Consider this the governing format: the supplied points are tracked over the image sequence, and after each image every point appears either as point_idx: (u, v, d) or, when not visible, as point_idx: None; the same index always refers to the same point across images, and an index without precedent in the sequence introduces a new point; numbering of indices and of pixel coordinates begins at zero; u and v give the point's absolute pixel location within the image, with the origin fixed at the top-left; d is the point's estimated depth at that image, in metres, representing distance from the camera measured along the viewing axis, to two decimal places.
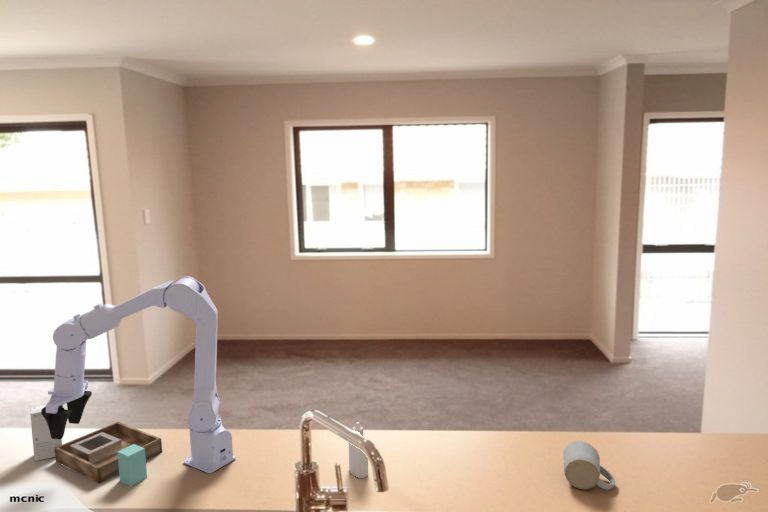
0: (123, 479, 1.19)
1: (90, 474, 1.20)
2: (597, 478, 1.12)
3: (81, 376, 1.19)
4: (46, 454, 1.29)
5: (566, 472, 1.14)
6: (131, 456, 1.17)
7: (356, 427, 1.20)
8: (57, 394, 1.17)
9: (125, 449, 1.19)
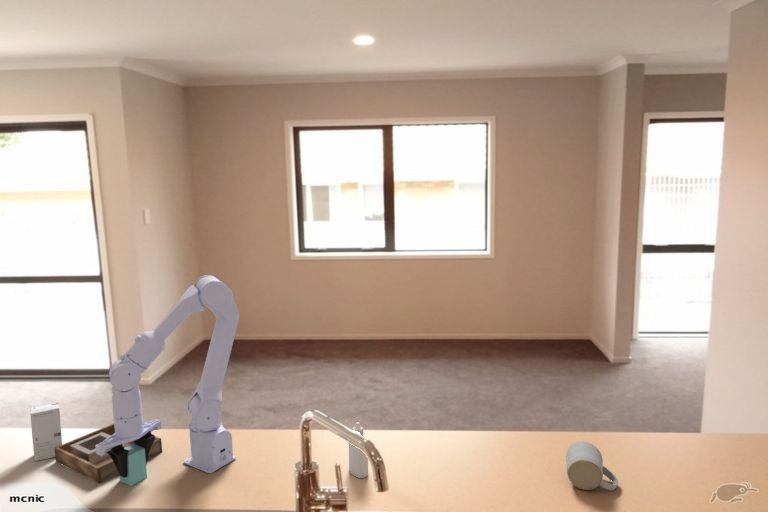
0: (123, 479, 1.19)
1: (90, 474, 1.20)
2: (600, 479, 1.12)
3: (133, 418, 1.16)
4: (46, 454, 1.29)
5: (569, 473, 1.14)
6: (131, 456, 1.17)
7: (356, 427, 1.20)
8: (115, 434, 1.17)
9: None
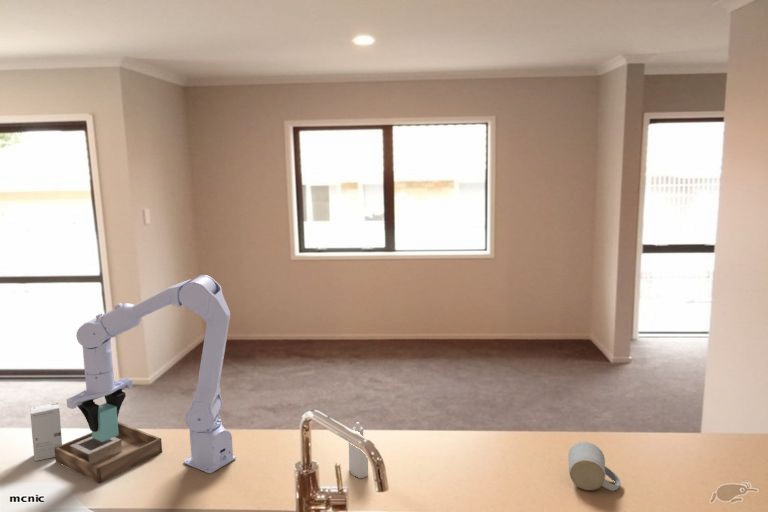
0: (95, 435, 1.24)
1: (90, 474, 1.20)
2: (602, 479, 1.12)
3: (104, 375, 1.21)
4: (46, 454, 1.29)
5: (571, 473, 1.14)
6: (103, 413, 1.22)
7: (356, 427, 1.20)
8: (86, 390, 1.22)
9: None
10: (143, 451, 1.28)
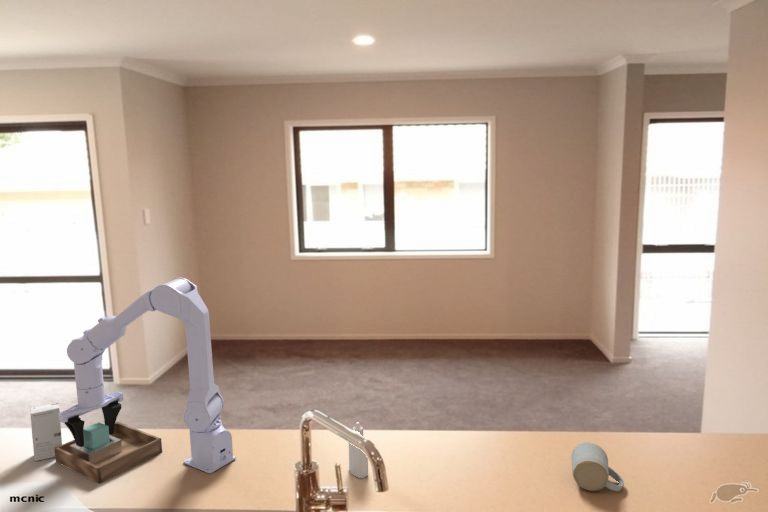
0: None
1: (90, 474, 1.20)
2: (606, 480, 1.12)
3: (94, 389, 1.25)
4: (46, 454, 1.29)
5: (574, 473, 1.14)
6: (95, 432, 1.26)
7: (356, 427, 1.20)
8: (78, 404, 1.26)
9: (90, 426, 1.28)
10: (143, 451, 1.28)
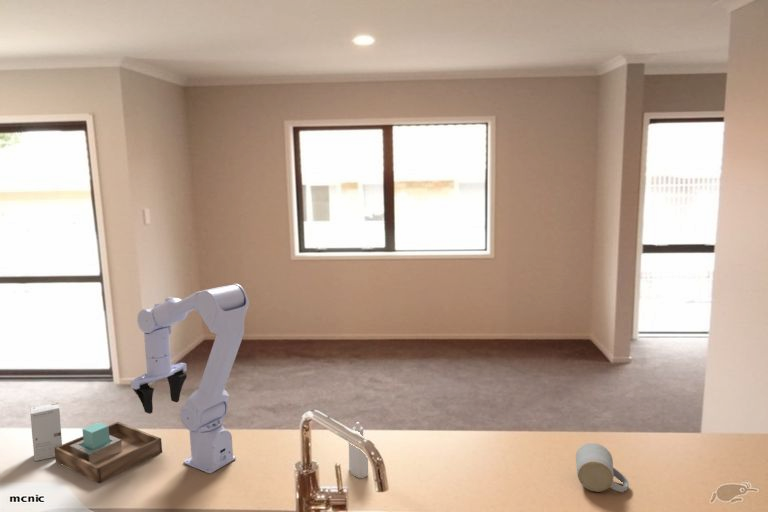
0: None
1: (90, 474, 1.20)
2: (611, 480, 1.11)
3: (163, 358, 1.31)
4: (46, 454, 1.29)
5: (579, 474, 1.13)
6: (95, 432, 1.26)
7: (356, 427, 1.20)
8: (147, 373, 1.32)
9: (90, 426, 1.28)
10: (143, 451, 1.28)
